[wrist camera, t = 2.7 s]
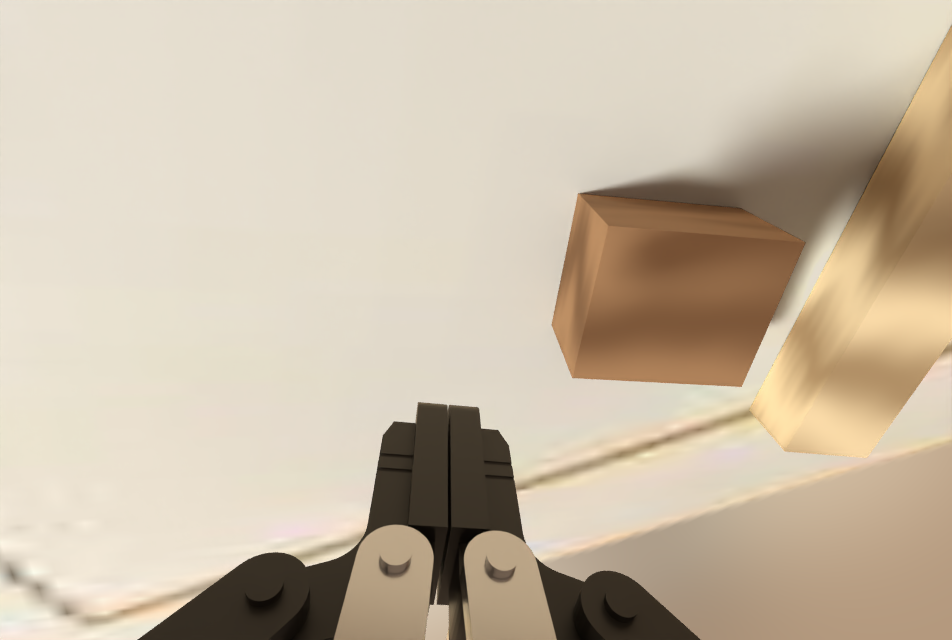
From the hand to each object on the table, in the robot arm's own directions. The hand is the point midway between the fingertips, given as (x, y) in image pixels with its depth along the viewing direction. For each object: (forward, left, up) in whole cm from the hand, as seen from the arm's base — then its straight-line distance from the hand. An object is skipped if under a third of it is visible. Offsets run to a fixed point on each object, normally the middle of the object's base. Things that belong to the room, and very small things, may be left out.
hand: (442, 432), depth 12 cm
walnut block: (0, +10, -13) cm, 17 cm away
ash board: (-4, +22, -13) cm, 26 cm away
